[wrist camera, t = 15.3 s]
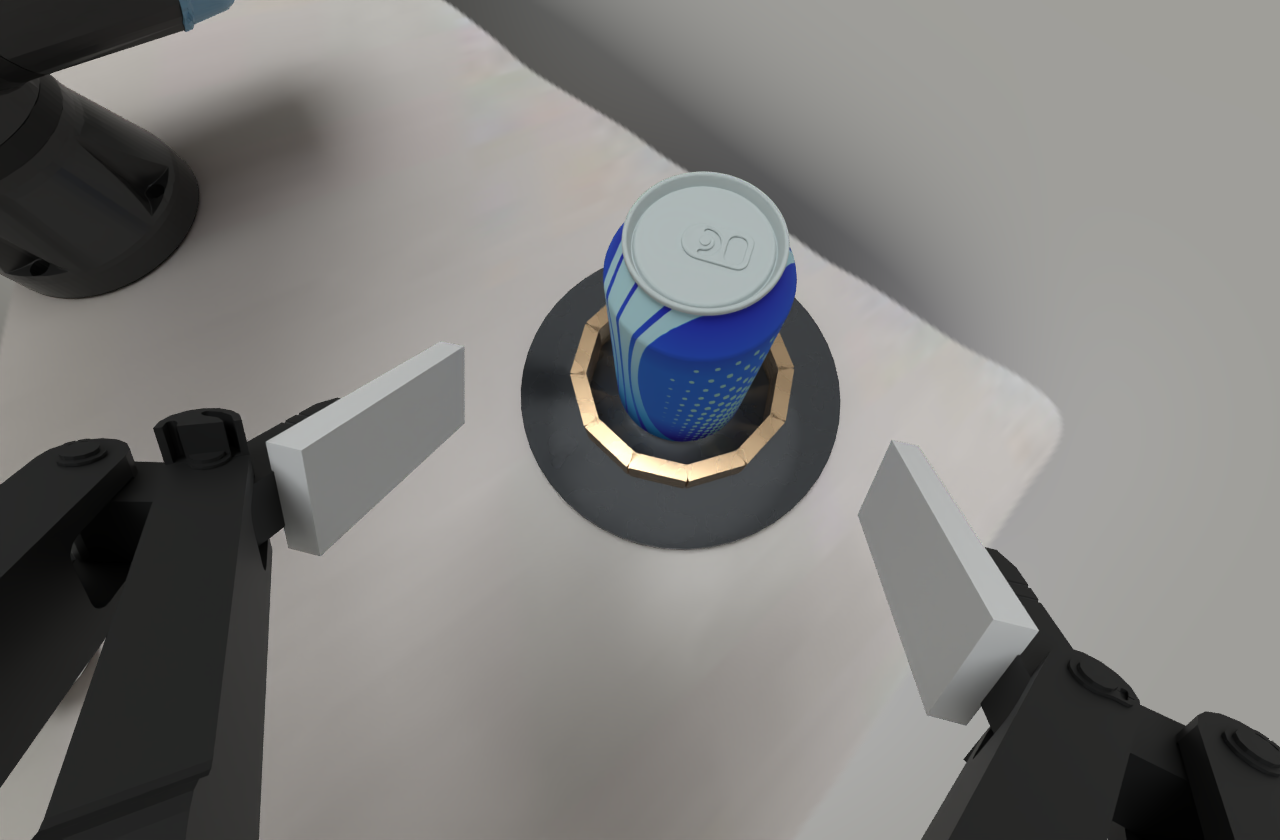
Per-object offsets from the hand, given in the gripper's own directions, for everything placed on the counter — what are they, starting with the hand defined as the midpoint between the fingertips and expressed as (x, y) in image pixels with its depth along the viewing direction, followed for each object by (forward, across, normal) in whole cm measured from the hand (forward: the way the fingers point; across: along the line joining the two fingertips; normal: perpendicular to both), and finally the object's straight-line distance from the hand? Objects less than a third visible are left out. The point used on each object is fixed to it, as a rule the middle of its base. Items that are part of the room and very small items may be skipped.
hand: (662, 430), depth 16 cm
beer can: (+19, 0, -7) cm, 20 cm away
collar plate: (+20, 0, -7) cm, 21 cm away
